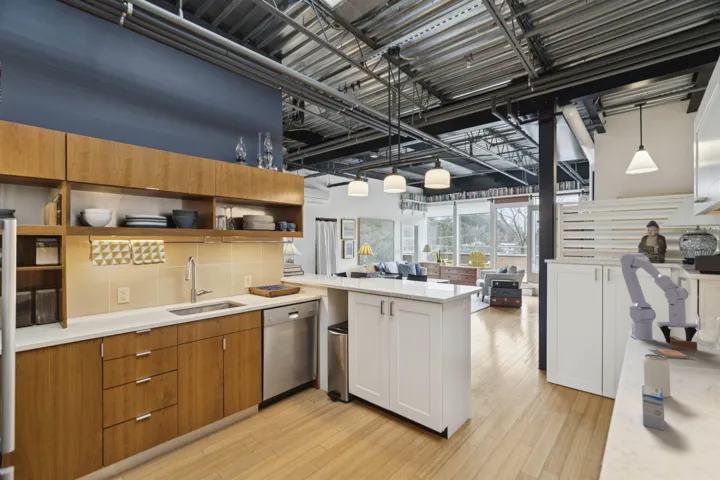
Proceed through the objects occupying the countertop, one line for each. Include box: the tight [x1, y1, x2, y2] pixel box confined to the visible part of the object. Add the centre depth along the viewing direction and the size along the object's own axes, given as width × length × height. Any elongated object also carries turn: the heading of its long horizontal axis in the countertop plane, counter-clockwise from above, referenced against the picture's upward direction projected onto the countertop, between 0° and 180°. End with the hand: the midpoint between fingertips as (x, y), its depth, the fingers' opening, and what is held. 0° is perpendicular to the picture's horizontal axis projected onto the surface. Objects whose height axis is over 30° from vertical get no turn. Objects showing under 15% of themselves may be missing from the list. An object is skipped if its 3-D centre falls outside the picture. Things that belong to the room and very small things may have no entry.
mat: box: [648, 348, 696, 361], centre depth 149 cm, size 12×12×1 cm
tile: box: [656, 348, 688, 360], centre depth 148 cm, size 1×7×8 cm
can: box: [642, 353, 671, 399], centre depth 112 cm, size 6×6×12 cm
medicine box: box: [641, 384, 665, 431], centre depth 94 cm, size 8×4×9 cm, turn 141°
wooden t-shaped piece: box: [665, 334, 698, 352], centre depth 160 cm, size 13×9×4 cm
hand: (678, 343), depth 159 cm, fingers open, 7 cm apart
